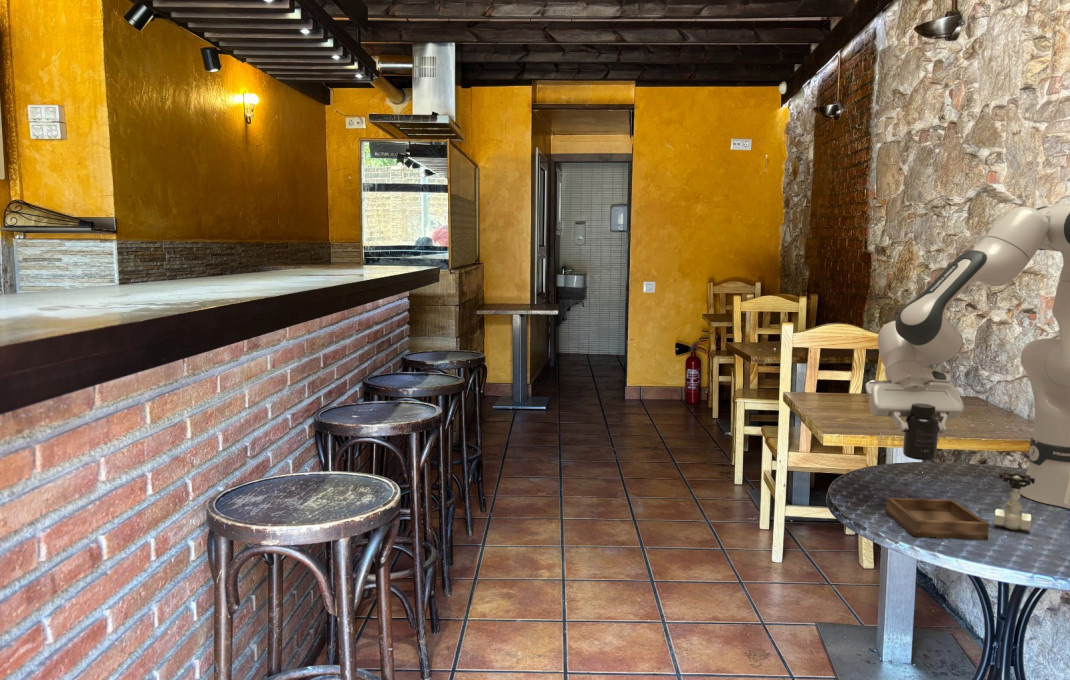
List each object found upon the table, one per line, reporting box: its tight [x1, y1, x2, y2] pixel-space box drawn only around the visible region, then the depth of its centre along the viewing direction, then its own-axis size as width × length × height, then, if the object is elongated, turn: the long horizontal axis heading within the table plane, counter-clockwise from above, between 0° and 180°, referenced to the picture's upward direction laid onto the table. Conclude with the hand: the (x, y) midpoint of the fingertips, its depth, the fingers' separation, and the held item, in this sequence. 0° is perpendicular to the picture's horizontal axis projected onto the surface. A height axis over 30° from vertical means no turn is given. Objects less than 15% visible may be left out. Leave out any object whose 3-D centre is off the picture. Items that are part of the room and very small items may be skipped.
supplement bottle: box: [902, 403, 940, 461], centre depth 174 cm, size 7×7×12 cm
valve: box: [993, 471, 1035, 532], centre depth 166 cm, size 7×7×12 cm
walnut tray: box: [885, 497, 990, 541], centre depth 168 cm, size 15×15×4 cm
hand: (923, 431), depth 173 cm, fingers closed on supplement bottle, 7 cm apart
